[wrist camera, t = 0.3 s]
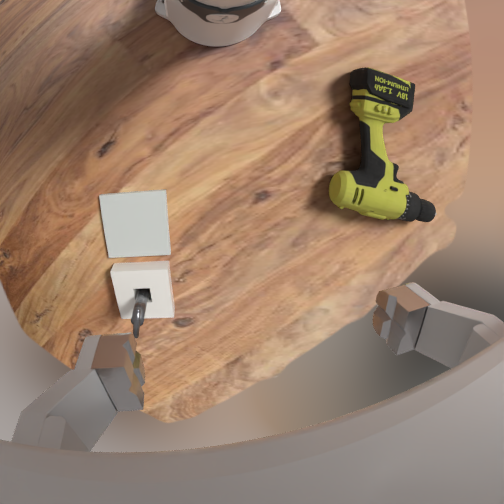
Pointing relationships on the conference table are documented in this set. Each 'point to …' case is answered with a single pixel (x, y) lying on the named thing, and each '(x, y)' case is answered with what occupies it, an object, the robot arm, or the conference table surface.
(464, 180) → the conference table surface
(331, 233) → the conference table surface
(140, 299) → the chuck key
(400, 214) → the cordless drill
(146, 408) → the conference table surface
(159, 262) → the white square-hole block
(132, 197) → the rubber mat
